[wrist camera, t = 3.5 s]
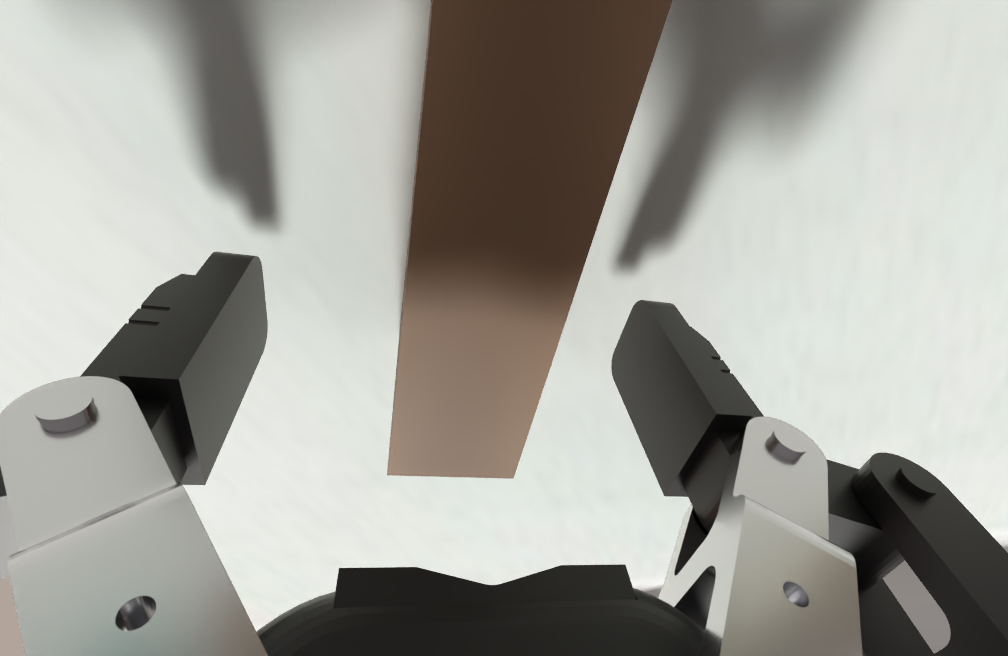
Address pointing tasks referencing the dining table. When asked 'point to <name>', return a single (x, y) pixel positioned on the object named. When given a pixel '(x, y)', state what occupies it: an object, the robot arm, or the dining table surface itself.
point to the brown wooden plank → (506, 213)
